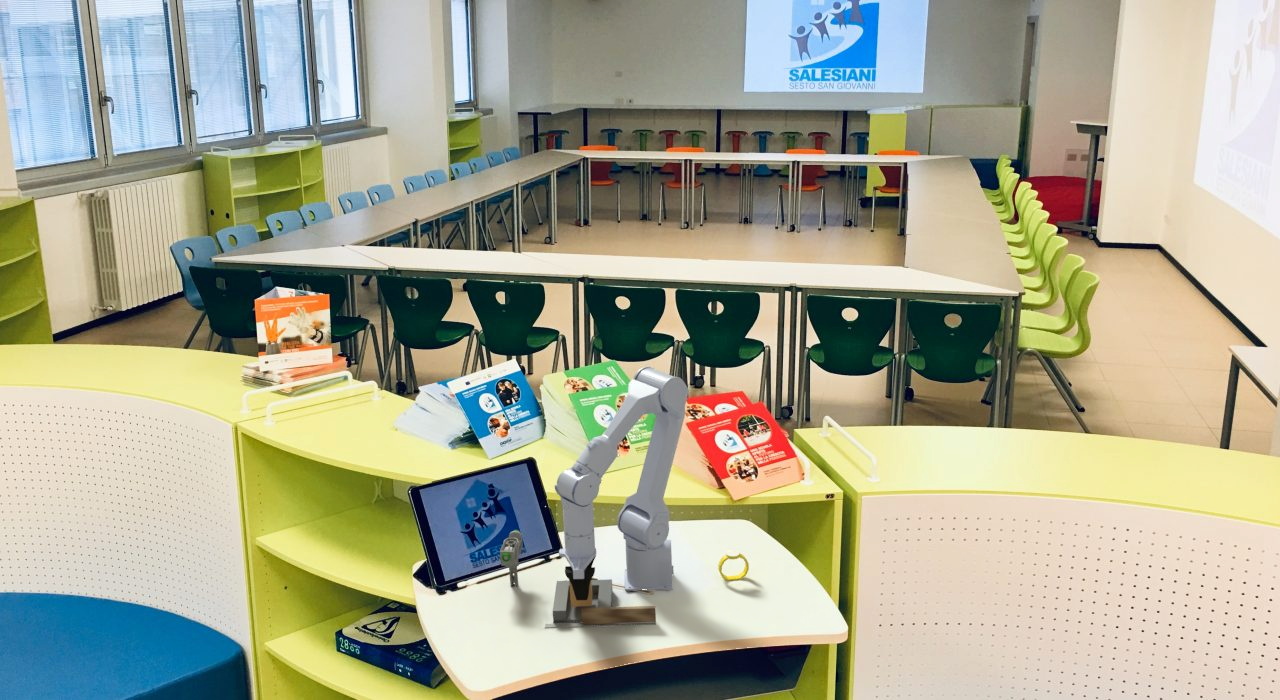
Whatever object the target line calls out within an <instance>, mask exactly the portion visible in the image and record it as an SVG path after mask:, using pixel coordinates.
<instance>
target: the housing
mask: <svg viewBox="0 0 1280 700" xmlns="http://www.w3.org/2000/svg"><path fill="white" fill-rule="evenodd" d="M592 594H593V595H592V606H577V607H571V600H570V583H569V580H556V583H555V592H554V598H553V599H554V600H553V605H552V619H553V620H552V623H545V624H544V629H546V628H547V629H550V628H551V629H553V628H555V629H556V628H578V627H579V628H580V627H581V628H584V627H587V628H589V627H618V626H619V627H620V626H622V627H623V626H654V625H655V626H656V625H657V621H656V622H641V623H605V624H582V618H581V608H599V607H613V579H592Z"/></svg>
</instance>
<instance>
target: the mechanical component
mask: <svg viewBox="0 0 1280 700" xmlns="http://www.w3.org/2000/svg"><path fill="white" fill-rule="evenodd" d="M523 543H524V542H523V534H522V533H521V531H519V530H518V529H514V530H513V531H510V533H509V535H508V537H507V538H505V539H504V540H503V544H502V546H501V547H500V550H499V559H500V565H501V566H503V567H507V568H508V570H509V572H508V573H509V582H510V583H509V585H510V586H511V587H512V586H513V585H514V586H516V587H517V586H518V587H519V578H518V577H519V575H518V567H519V565H520V562H519V558H520V556H521V553H522V551H523V545H524V544H523Z"/></svg>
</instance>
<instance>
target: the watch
mask: <svg viewBox="0 0 1280 700" xmlns="http://www.w3.org/2000/svg"><path fill="white" fill-rule="evenodd" d="M739 558H740V559H742V560H744V563H745V567H744V568H743V570H742V571H741V572H740V573H739V574H737V575H725V574H724V573H723V572H722V569H723V565H724V563H725V562H726V561H727V560H737V559H739ZM749 565H750V564H749V562H748V559H747V558H746V557H745V556H744V554H742V553H741V552H740V550H737V549H729V550H727V551H726V553H725V555H723V556H722V557H721V559H720V561H718V568H717V569H718V571H719V573H720V576H721V577H722V579H723V580H725V581H727V582H729V581H738V580H742V579H744V578H745V577H746V575H747V574H748V572H749V570H750V569H749Z"/></svg>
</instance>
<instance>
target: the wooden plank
mask: <svg viewBox="0 0 1280 700" xmlns="http://www.w3.org/2000/svg"><path fill="white" fill-rule="evenodd" d="M656 614H657V613H656V605H642V606H612V607H599V608H581V618H582V622H581V623H582V624H605V623H641V622H656V623H657V618H656V617H657V616H656Z"/></svg>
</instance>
